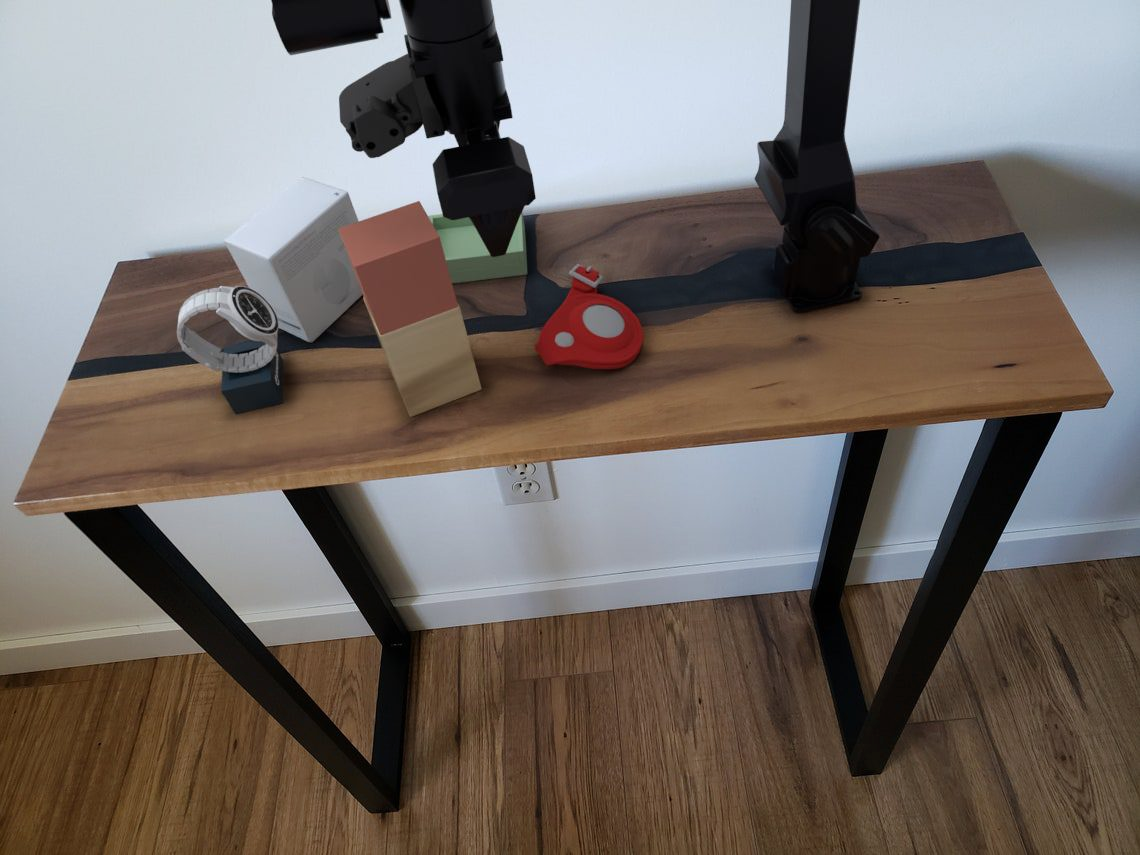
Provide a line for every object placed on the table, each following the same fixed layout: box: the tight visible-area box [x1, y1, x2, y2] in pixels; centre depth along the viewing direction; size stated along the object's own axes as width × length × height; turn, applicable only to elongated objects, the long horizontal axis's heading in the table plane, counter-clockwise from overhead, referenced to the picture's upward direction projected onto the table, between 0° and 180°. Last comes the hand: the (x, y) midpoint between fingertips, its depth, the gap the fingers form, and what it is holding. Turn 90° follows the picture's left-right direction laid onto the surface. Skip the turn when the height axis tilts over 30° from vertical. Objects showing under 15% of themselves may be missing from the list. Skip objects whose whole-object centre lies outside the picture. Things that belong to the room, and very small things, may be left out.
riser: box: [362, 296, 483, 418], centre depth 73 cm, size 5×7×10 cm
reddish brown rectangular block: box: [338, 200, 459, 335], centre depth 67 cm, size 5×6×7 cm
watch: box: [176, 285, 284, 415], centre depth 75 cm, size 6×8×11 cm
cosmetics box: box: [223, 176, 363, 343], centre depth 82 cm, size 10×6×10 cm, turn 147°
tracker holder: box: [533, 263, 644, 370], centre depth 78 cm, size 12×4×10 cm
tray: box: [428, 212, 529, 284], centre depth 87 cm, size 10×7×3 cm
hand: (490, 217), depth 68 cm, fingers open, 9 cm apart
